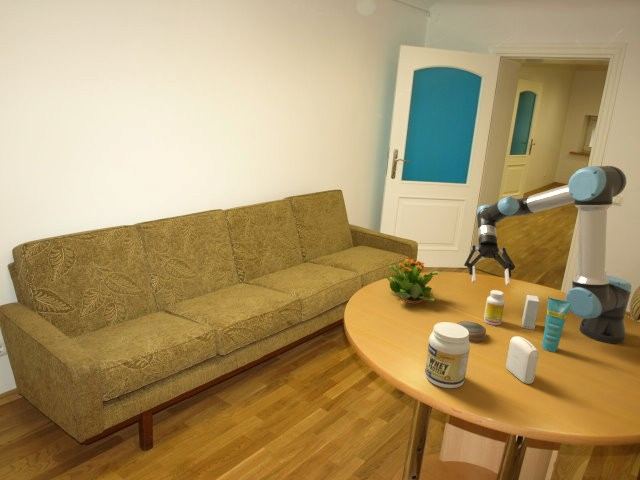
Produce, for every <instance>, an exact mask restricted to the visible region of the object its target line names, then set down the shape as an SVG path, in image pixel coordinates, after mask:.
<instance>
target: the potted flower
mask: <svg viewBox="0 0 640 480" xmlns="http://www.w3.org/2000/svg"><path fill="white" fill-rule="evenodd" d="M388 269H391V270H394V271H395V272H396V273H395V274H392V275H391V277H389V276H388V275H386V274H385V275H384V276H385V278H386V280H387V281H389V288H390V290H391V291H392V292H393V293H395V294H396V295H397V296H398V297H400V298H401V299H402V301H404V302H406V301H407V303H409V302H410V304H419V303H422V302H423V301H435V297H433V296H432V295H430V296H428V297H425V296H427V295H428V294H430V292H431V291H432V289H433V288H432V287H431V286H427V284H429V282H431V280H432V279H433V276H435V275H440V274H441V272H440V271H438V270H435V271H433V272H430V273H428V274H424V275H422V274H421V273H424V271H425V270H426V268H425V263H424V262H422V261H420V260H417V261H415V259H413V258H411V259H408V258H406V259H404V263H398V266H397V265H396V264H393V265H391V264H389V266H388ZM402 269H403V270H402Z"/></svg>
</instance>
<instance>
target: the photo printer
mask: <svg viewBox="0 0 640 480" xmlns="http://www.w3.org/2000/svg"><path fill="white" fill-rule="evenodd" d="M538 361H539V351H538V349H537V348H536V346H535V345H534V344H533V343H532V342H530V341H529V340H527V339H526V338H524V337H522V336H518V335H516V336H513V337H511V339H510V341H509V346H508V352H507V356H506V364H505V368H506V369H507V370H508V371H509V373H511V374H512V375H513V376H515V377H516V378H517V379H518V380H520V381H521V382H522V383H524V384H526V385H527V384H528V385H529V384H530V385H531V384H532V383H533V382H534V381H535V378H536V371H537V367H538Z"/></svg>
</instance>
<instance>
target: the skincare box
mask: <svg viewBox="0 0 640 480" xmlns="http://www.w3.org/2000/svg"><path fill="white" fill-rule="evenodd" d="M539 305H540V299H539V296H537V295H531V294H527V295H526V298H525V303H524V308H523V312H522V314H523V315H522V319H521V324H522V325H521V326H522V328H523V329H526V330H532V331H533V330H535V327H536V322H537V317H538V312H539V307H540V306H539Z"/></svg>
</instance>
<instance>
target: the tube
mask: <svg viewBox="0 0 640 480" xmlns="http://www.w3.org/2000/svg"><path fill="white" fill-rule="evenodd" d="M571 303H572V302H568V301H566V300H562V299H558V298H553V297H549V296H547V308H546V316H545V317H546V318H545V324H544V331H543V338H542V343H541V344H542V345H541V346H542V349H544V350H545V351H547V352H553V353H555V352H557V350H558V348H559V343H560V340H561V336H562V334H563V330H564V327H565V323H566V320H567V318H568V314H569V311H570V310H569V309H570V306H571Z"/></svg>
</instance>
